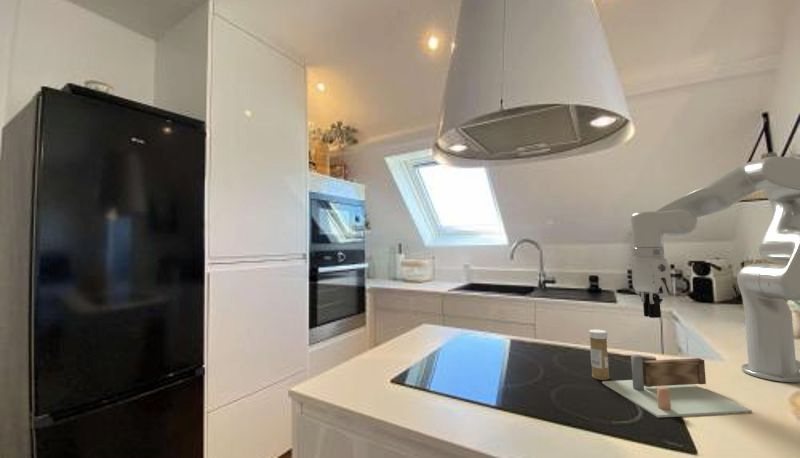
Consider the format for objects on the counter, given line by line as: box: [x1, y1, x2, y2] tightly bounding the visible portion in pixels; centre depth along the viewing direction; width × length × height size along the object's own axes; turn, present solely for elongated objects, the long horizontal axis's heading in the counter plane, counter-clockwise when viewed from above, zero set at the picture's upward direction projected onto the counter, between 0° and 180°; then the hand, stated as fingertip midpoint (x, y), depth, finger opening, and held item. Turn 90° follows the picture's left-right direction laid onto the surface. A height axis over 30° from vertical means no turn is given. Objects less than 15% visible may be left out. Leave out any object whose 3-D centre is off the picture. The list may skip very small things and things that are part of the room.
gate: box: [642, 357, 707, 387], centre depth 94 cm, size 16×2×6 cm, turn 93°
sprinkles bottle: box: [588, 329, 611, 381], centre depth 103 cm, size 5×5×13 cm
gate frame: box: [601, 354, 753, 419], centre depth 89 cm, size 22×20×9 cm
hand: (652, 316), depth 103 cm, fingers closed
